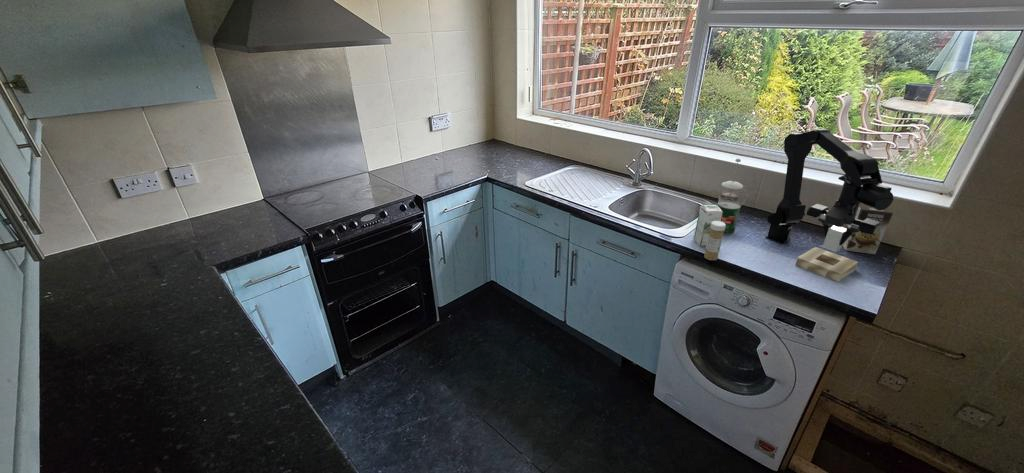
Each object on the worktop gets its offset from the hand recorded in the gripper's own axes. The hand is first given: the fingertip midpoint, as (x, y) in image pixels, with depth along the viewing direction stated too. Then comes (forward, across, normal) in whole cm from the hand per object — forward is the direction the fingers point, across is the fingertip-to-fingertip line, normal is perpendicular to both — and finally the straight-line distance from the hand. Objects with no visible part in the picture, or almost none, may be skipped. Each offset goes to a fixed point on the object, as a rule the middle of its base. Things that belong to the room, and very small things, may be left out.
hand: (833, 242), depth 141 cm
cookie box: (+10, +1, +24) cm, 26 cm away
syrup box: (+10, -34, -17) cm, 39 cm away
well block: (+10, 0, 0) cm, 10 cm away
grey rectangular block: (+2, 0, 0) cm, 2 cm away
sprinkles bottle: (+10, -26, -25) cm, 37 cm away
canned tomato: (+10, -36, -1) cm, 37 cm away
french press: (+10, -43, +13) cm, 46 cm away
